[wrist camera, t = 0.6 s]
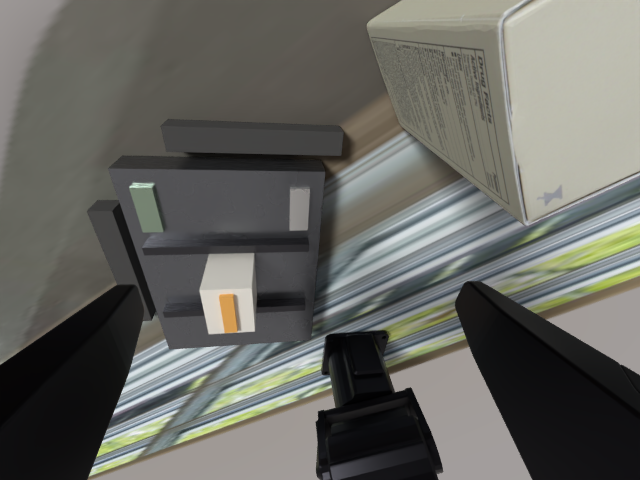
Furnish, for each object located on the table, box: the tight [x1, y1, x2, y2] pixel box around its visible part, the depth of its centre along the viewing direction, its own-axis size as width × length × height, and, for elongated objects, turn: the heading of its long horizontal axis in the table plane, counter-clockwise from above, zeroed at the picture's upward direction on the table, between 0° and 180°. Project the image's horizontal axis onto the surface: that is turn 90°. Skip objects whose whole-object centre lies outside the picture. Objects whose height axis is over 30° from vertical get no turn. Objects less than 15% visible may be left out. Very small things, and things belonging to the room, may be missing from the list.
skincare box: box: [367, 0, 640, 226], centre depth 12 cm, size 6×4×12 cm
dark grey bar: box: [87, 200, 156, 321], centre depth 22 cm, size 10×1×1 cm, turn 176°
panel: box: [108, 156, 325, 349], centre depth 23 cm, size 16×12×3 cm
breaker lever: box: [199, 253, 257, 334], centre depth 21 cm, size 4×3×4 cm
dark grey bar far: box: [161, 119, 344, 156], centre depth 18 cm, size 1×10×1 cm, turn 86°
